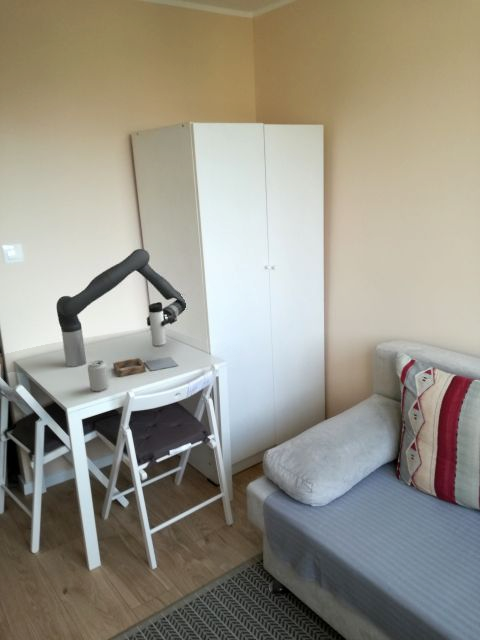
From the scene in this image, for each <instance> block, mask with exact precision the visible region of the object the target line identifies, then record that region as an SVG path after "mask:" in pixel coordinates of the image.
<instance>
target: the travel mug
mask: <svg viewBox="0 0 480 640" xmlns="http://www.w3.org/2000/svg"><path fill="white" fill-rule="evenodd" d="M148 314H149V316H150V326H149V327H150V334H151V342H152V343H151V344H152V347H153V348H154V347H155V348H162V347H165V346H166V345H167V342H166V341H167V339H166V330H165V325H164V326H162V325H161V322H162V321H163V320H164V318H163V303H162V302H160V301H158V302H153V303H151V304H149V305H148ZM149 316H148V317H149Z"/></svg>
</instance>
